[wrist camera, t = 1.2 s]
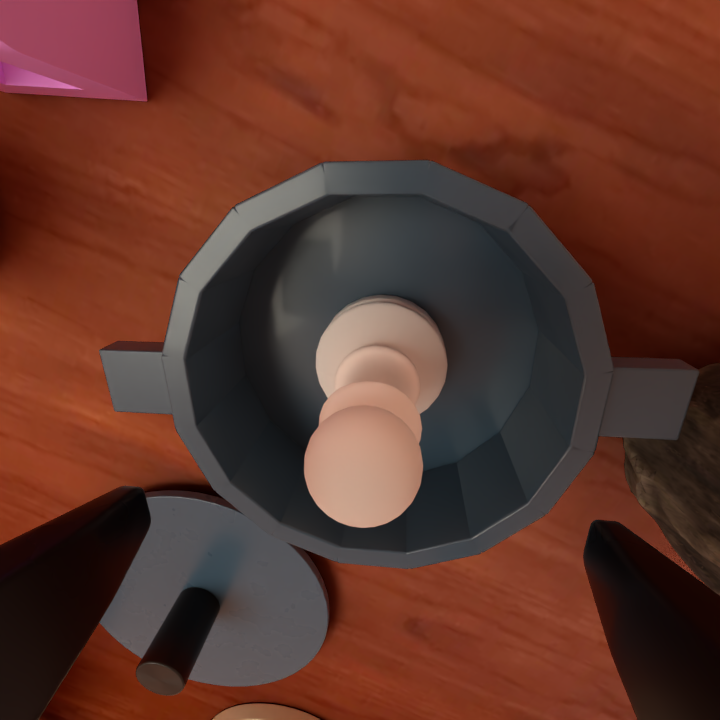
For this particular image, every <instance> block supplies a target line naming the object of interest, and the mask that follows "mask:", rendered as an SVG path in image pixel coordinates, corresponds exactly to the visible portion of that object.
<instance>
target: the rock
mask: <svg viewBox="0 0 720 720" xmlns="http://www.w3.org/2000/svg"><path fill="white" fill-rule="evenodd" d="M698 370H699V376H698V379H697V382H696V385H695V388H694V391H693V394H692V397H691V401H690V404H689V407H688V410H687V413H686V416H685V419H684V422H683V425H682V428H681V432H680V435H679V438H678V439H677V440H664V439H644V438H625V437H623V446H624V449H625V462H624V468H625V476H626V480H627V482H628V485H629V487H630V489H631V492H632V493H633V494H634V495H635V496H636V498H637V500H638V502H639V504H640V505H641V506H642V507H643V508H644V509H645V510H646V511H647V512H648V513H649V514H650V516H651V517H652V518H653V519H654V520H655V521H656V522H657V524H658V525H659V527H660V528H661V530H662V532H663V533H664V535H665V537H666V538H667V540H668V541H669V543H670V544H671V546H672V547H673V548H674V550H675V551H676V552H677V554H678V555H679V556H680V557H681V558H682V560H683V561H684V562H685V563H686V564H687V565H688V567H689V568H690V569H691V570H692V571H693V572H694V573H695V574H696V575H697V576H698V578H699V579H700V580H702V581H703V582H704V583H705V584H706V585H707V586H708V587H709V588H710V589H711V590H713V591H714V592H716V593H717V594H718V595H720V363H715V364H710V365H706V366H704V367H702V368H700V369H698Z"/></svg>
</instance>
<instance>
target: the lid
mask: <svg viewBox="0 0 720 720" xmlns="http://www.w3.org/2000/svg"><path fill="white" fill-rule="evenodd" d="M145 495H146V499H147V503H148V507H149V511H150V515H151V524H150V528H149V530H148V533H147V535H146V536H145V538H144V540H143V542H142V544H141V546H140V548H139V550H138V552H137V554H136V556H135V558H134V560H133V562H132V564H131V566H130V568H129V570H128V572H127V574H126V576H125V578H124V580H123V582H122V584H121V586H120V588H119V590H118V591H117V593H116V595H115V597H114V599H113V601H112V602H111V604H110V606H109V607H108V609H107V611H106V612H105V614H104V616H103V617H102V619H101V620H100V624H101V625H102V626H103V627H104V628H105V629H106V630H107V631H108V632H109V633H110V634H111V635H112V636H113V637H114V638H115V639H116V640H117V641H118V642H120V643H121V644H122V645H123V646H125V647H126V648H127V649H129V650H130V651H131V652H133V653H134V654H136V655H137V656H139V657H140V658H142V660H141V661H140V663H139V665H138V666H137V669H136V677H137V679H138V681H139V682H140V683H141V684H142V685H143V686H144V687H145V688H147V689H148V690H150V691H152V692H154V693H157V694H160V695H175V694H178V693H180V692H181V691H182V690H183V689H184V687H185V684H186V682H187V680H188V679H190V680H194V681H198V682H202V683H208V684H214V685H222V686H253V685H261V684H266V683H271V682H274V681H277V680H280V679H283V678H286V677H288V676H290V675H292V674H294V673H296V672H297V671H299V670H300V669H302V668H303V667H304V666H306V665H307V664H308V663H309V662H310V661H311V660H312V659H313V658H314V657H315V655H316V654H317V652H318V651H319V650H320V648H321V646H322V644H323V642H324V640H325V637H326V633H327V629H328V624H329V616H330V606H329V598H328V593H327V590H326V587H325V584H324V581H323V579H322V577H321V575H320V573H319V571H318V569H317V567H316V566H315V564H314V563H313V561H312V560H311V558H310V557H309V555H308V554H307V553H306V552H305V551H304V550H303V549H302V548H300V547H297V546H295V545H292V544H290V543H287V542H285V541H282V540H280V539H277V538H275V537H273V536H272V535H269V534H267V533H266V532H265V531H264V530H262V529H261V528H260V527H259V526H258V525H256V524H255V523H254V522H253V521H251V520H250V519H249V518H248V517H246V516H245V515H244V514H243V513H241V512H240V511H239V510H238V509H237V508H235V507H234V506H233V505H232V504H230V503H229V502H228V501H227V500H225V499H223V498H220V497H216V496H212V495H208V494H204V493H198V492H190V491H177V490H164V491H154V492H147V493H145Z"/></svg>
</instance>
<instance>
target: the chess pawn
mask: <svg viewBox="0 0 720 720" xmlns="http://www.w3.org/2000/svg"><path fill="white" fill-rule="evenodd" d="M447 367H448V364H447V356H446V349H445V347H444V341H443V338H442V336H441V333H440V331H439V329H438V327H437V324H436V323H435V322H434V321H433V319H432V318H431V317H430V316H429V315H428V313H427V312H426V311H425V310H423V309H422V308H420V307H419V306H417V305H416V304H415V303H413V302H411V301H409V300H406V299H403V298H400V297H398V296H390V295H374V296H368V297H363V298H361V299H358V300H356V301H354V302H352V303H350V304H348V305H347V306H346V307H344V308H343V309H342V310H341V311H340V312H338V313H337V314H336V315H335V317H334V318H333V320H332V321H331V323H330V324H329V326H328V327H327V329H326V330H325V332H324V333H323V335H322V336H321V339H320V342H319V345H318V348H317V351H316V371H317V375H318V379H319V383H320V385H321V387H322V389H323V391H324V392H325V394H326V396H327V398H328V399H327V400H326V402H325V403H324V405H323V407H322V410H321V413H320V416H319V426H318V428H317V429H316V430H315V432H314V433H313V434H312V436H311V438H310V441H309V443H308V446H307V449H306V452H305V457H304V476H305V480H306V484H307V487H308V490H309V493H310V495H311V496H312V498H313V499H314V501H315V503H316V504H317V506H318V507H319V508H320V509H321V510H322V511H323V512H324V513H325V514H326V515H327V516H329V517H331V518H332V519H334V520H336V521H337V522H339V523H342V524H345V525H348V526H352V527H359V528H367V527H376V526H379V525H383V524H386V523H388V522H390V521H392V520H393V519H395V518H397V517H398V516H400V515H401V514H402V513H403V512H404V511H405V510H406V509H407V508H408V507H409V506H410V504H411V503H412V502H413V500H414V498H415V496H416V494H417V492H418V490H419V488H420V484H421V479H422V472H423V461H422V455H421V449H420V446H419V442H420V439H421V432H422V424H421V418H420V415H419V414H421V413H422V412H423V411H425V410H426V409H428V408H429V407H430V405H431V404H432V403H433V402H434V401H435V400H436V398H437V397H438V396H439V394H440V392H441V389H442V387H443V385H444V383H445V379H446V373H447Z"/></svg>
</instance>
